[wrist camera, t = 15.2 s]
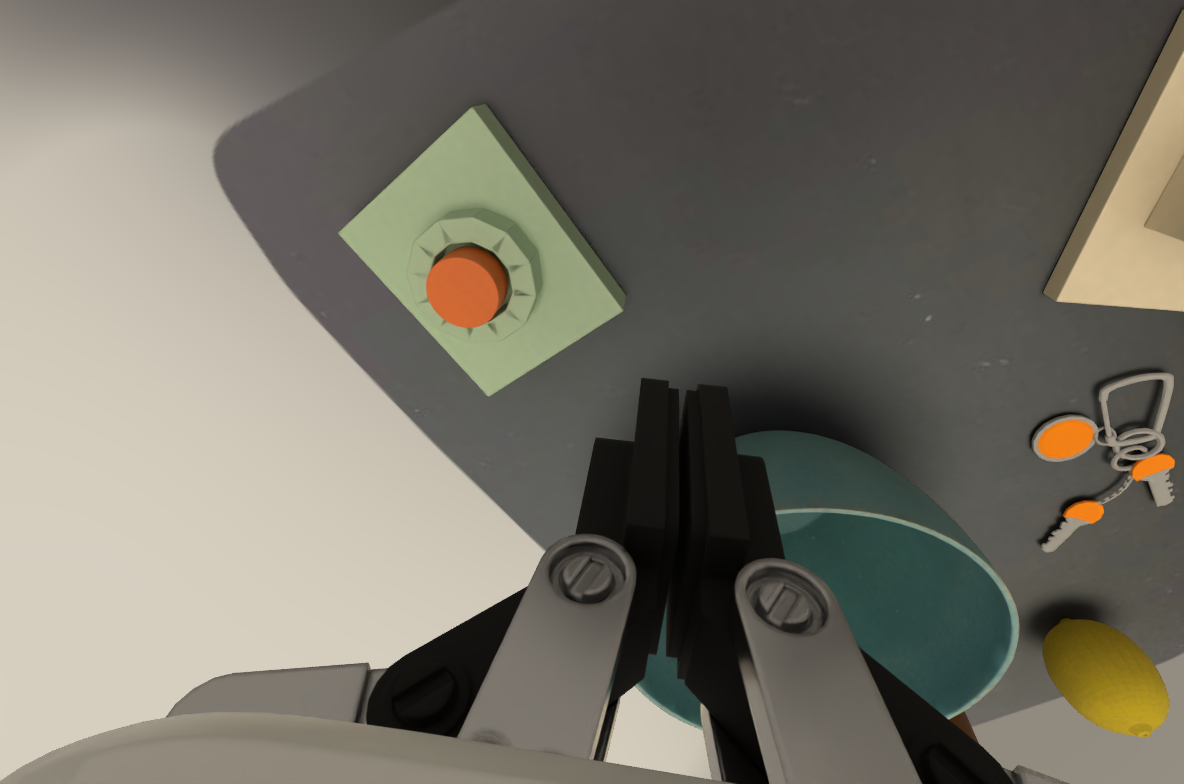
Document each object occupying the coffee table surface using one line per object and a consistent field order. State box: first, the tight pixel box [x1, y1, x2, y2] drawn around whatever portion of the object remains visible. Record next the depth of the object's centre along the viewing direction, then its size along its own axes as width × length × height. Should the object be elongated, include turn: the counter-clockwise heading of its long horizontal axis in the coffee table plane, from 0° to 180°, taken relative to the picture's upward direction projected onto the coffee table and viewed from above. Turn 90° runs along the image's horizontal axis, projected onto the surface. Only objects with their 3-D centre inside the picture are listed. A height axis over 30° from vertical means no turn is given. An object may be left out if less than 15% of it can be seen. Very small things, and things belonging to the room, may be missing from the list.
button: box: [426, 247, 508, 328], centre depth 27 cm, size 4×4×2 cm
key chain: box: [1032, 373, 1175, 552], centre depth 32 cm, size 13×7×1 cm, turn 21°
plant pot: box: [635, 430, 1019, 730], centre depth 31 cm, size 18×18×12 cm
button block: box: [338, 104, 626, 396], centre depth 29 cm, size 12×10×4 cm
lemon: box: [1043, 618, 1169, 738], centre depth 36 cm, size 6×6×8 cm
